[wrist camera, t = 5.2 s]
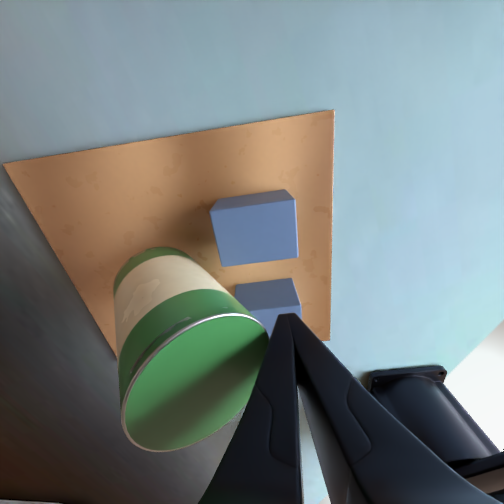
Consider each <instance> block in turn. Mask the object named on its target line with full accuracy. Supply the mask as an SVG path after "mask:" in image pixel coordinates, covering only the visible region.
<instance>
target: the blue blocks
mask: <svg viewBox="0 0 504 504" xmlns="http://www.w3.org/2000/svg"><path fill="white" fill-rule="evenodd" d="M209 215H210V219H211V223H212V228H213V232H214V236H215V241H216V245H217V249H218V254H219V258H220V262H221V266H222V267H228V266H236V265H244V264H252V263H260V262H268V261H276V260H284V259H291V258H298V256H299V254H298V235H297V216H296V200H295V199H294V198H293V197H292V196H291V195H290V193H289V192H288V191H287V190H285V189H283V190H276V191H269V192H262V193H255V194H248V195H241V196H235V197H228V198H221V199H218V200H217V201H216V203H215V204H214V206H213V207H212V208H211V210H210V211H209ZM234 298H235V299H236V300H237V301H238V302H239V303H240V304H241V305H242V306H243V307H245V308H246V309H247V310H248V311H249V312H250V313H251V314H252V315H253V316H254V317H255V318H256V319H257V320H258V321H259V322H260V323H261V324H262V325H263V326H264V327H265V329H266V331H267V333H268V335H269V339H270V337H271V334H272V331H273V328H274V325H275V322H276V319H277V316H278V315H279V314H285V313H296V314H297V315H298V316H299V317H300V319H301V320H302V311H301V303H300V300H299V297H298V294H297V291H296V288H295V285H294V282H293V279H292V278H286V279H277V280H269V281H261V282H253V283H244V284H237V285H236V286H235V295H234Z"/></svg>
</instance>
